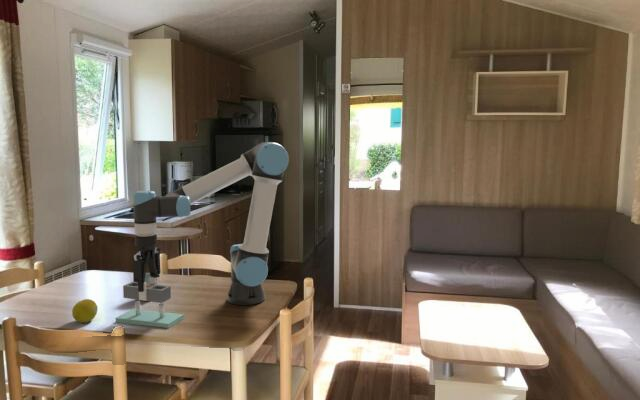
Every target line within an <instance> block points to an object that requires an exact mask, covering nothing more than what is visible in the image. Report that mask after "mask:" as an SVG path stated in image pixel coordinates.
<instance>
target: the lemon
mask: <svg viewBox="0 0 640 400" xmlns="http://www.w3.org/2000/svg"><path fill="white" fill-rule="evenodd" d="M71 313H72V317H73V319H74V320H75V321H76V322H79V323H81V324H84V323H86V324H87V323H89V322H91V321H92V320H93V319H94V318H95V317H96V316H97V314H98V305H97V303H96V302H95V301H94V300H93V299H90V298H87V299H82V300H80V301H78V302H77V303H75V305H74V306H73V307H72V310H71Z"/></svg>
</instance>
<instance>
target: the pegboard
mask: <svg viewBox="0 0 640 400" xmlns="http://www.w3.org/2000/svg"><path fill="white" fill-rule="evenodd" d="M134 306H135V307H134V308H135V309H134V308H132V309H130V310H128V311H126V312H124V313H122V314H120V315H119V316H117V317H115V323H119V324H120V323H121V324H128V325H129V324H131V325H140V326H147V327H148V326H149V327H155V328H156V327H159V328H166V329H169V328H172V327H173V326H175V325H176V324H177V323H179V322H181V321H183V320H184V319H185V314H184V313H176V312H175V313H174V312H167V311H165V305H164V302H163V303H159V304H158V309H159V311H157V310H156V311H154V310H143V309H141V300H137V301H135V302H134Z"/></svg>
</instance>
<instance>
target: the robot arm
mask: <svg viewBox="0 0 640 400" xmlns="http://www.w3.org/2000/svg"><path fill="white" fill-rule="evenodd" d="M289 160H290V159H289V153H288V152H287V150H286V148H285V147H284V146H283V145H282V144H280V143H278V142H273V141H266V142H265V141H263V142H260V143H258V144H257V145H255V146H254V147H252V148H251V149H249V150H247V151H246V152H244V153H241V155H240V158H237V159H236V160H234V161H232V162H229V163H228V164H226V165H224V166H222V167H220V168H219V167H218V169H216V170H214V171H211V172H209V173H208V174H207V173H206V175H203V176H202V177H199V178H198V179H195V180H193V181H191V182H190V183H187V184H186V185H184V186H182V187H180V188H177V189H175V190H174V191H173V190H172V191H169V192H168V193H167V194H165V196H157V194H156V192H155V191H154V190H138V191H135V192H134V193H133V201H132V202H133V205H132V206H133V221H134V222H133V223H134V234H135V235H134V245H135V246H136V247H137V251H136V254H132V255H131V258H132V265H133V266H132V271H133V272H132V274H133V275H132V276H133V278H132V279H133V281H132V282H137V283H138V291H139V300H138V301H145V302H147V301H146V300H147V291H146V282H145V274H146V273H147V267H148V271H149V272H148V273H150V276H151V277H149V284H156V285H158V278H160V276H161V272H162V270H161V256H160V253H161V248H160V247H156V245H157V244H158V228H157V227H158V226H157V225H158V224H157V218H176V217H177V218H182V217H189V216H191V205H193V204H195V203H196V202H199V201H200V200H203V199H205V198H206V197H209V196H211V195H213V194H214V193H217V192H218V191H220V190H222V189H224V188H227V187H229V186H231V185H232V184H235V183H237V182H238V181H240V180H242V179H244V178H247V177H249V176H250V177H252V179H254V184H253V189H252V193H251V195H252V196H251V200H250V206H249V211H248V216H247V221H246V227H245V232H244V233H245V234H244V239H243V243H239V244H233V245H232V246H230V251H229V253H230V272H231V273H230V274H231V275H230V276H231V278H230V279H231V283H230V285H229V289H228V292H227V302H228V303H229V304H232V305H236V306H250V305H251V306H253V305H257V304H259V303H262V302H264V301H265V300H266V293H265V290H264V287H263V284H262V283H263V282H265V280H266V278H267V277H268V273H269V267H268V259H269V253H270V251H269V249H268V248H267V242H268V239H269V232H270V226H271V221H272V216H273V210H274V205H275V200H276V194H277V189H278V185H279V184H280V183H282V182H283V180H284V174H285V171H286V170H287V169H288V165H289V163H290V161H289Z"/></svg>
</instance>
